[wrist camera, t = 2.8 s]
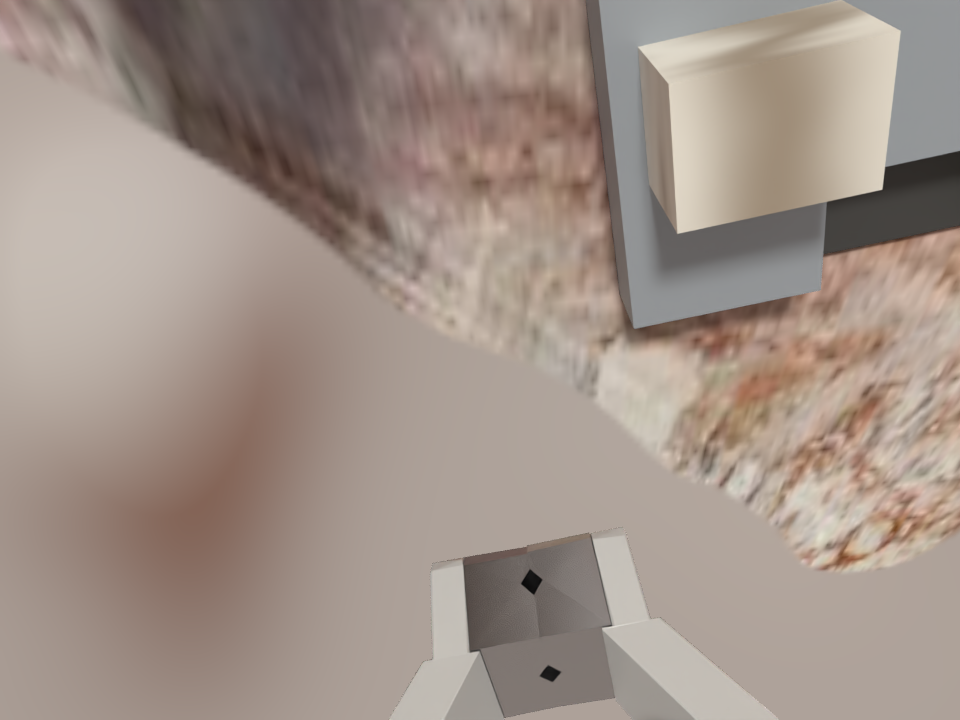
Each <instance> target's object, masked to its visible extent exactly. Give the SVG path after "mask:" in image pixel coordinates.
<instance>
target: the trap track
mask: <svg viewBox="0 0 960 720" xmlns="http://www.w3.org/2000/svg"><path fill="white" fill-rule="evenodd" d="M833 1H837V0H586V6H587V15H588V24H589V32H590V41H591V50H592V58H593V67H594V75H595V84H596V93H597V101H598V110H599V119H600V127H601V136H602V144H603V153H604V162H605V170H606V179H607V188H608V196H609V205H610V213H611V222H612V231H613V239H614V248H615V257H616V265H617V274H618V282H619V291H620V296H621V298H622V301H623V303H624V306H625V308H626V311H627V313H628V316H629V318H630V321H631V323H632V326H633V328H634V329H636V328H641V327H646V326H651V325H655V324H660V323H665V322H670V321H675V320H680V319H684V318H689V317H694V316H699V315H704V314H708V313H713V312H718V311H723V310H728V309H732V308H737V307H742V306H747V305H752V304H756V303H761V302H766V301H771V300H776V299H781V298H785V297H790V296H795V295H800V294H805V293H809V292H814V291H819V290H821V278H822V264H823V254H827V253H831V252H836V251H841V250H846V249H850V248H855V247H860V246H864V245H869V244H874V243H879V242H883V241H888V240H893V239H898V238H902V237H907V236H912V235H917V234H921V233H926V232H931V231H936V230H940V229H945V228H950V227H955V226H959V225H960V0H843V1H845V2H846V3H848V4H850V5H852V6H854V7H856V8H858V9H860V10H862V11H864V12H866V13H868V14H869V15H871V16H873V17H875V18H877V19H879V20H881V21H883V22H885V23H887V24H889V25H891V26H892V27H894V28H896V29H898V30H900V31H901V34H900V42H899V51H898V59H897V68H896V77H895V85H894V94H893V102H892V111H891V120H890V128H889V137H888V145H887V154H886V162H885V171H884V180H883V188H882V190H879V191H874V192H869V193H865V194H860V195H855V196H851V197H846V198H842V199H837V200H832V201H828V202H823V203H818V204H814V205H809V206H804V207H800V208H795V209H790V210H786V211H781V212H777V213H772V214H767V215H763V216H758V217H753V218H749V219H744V220H739V221H735V222H730V223H726V224H721V225H716V226H712V227H707V228H702V229H698V230H693V231H688V232H684V233H679V234H677V232H676V230H675V229H674V227H673V225H672V223H671V222H670V220H669V218H668V217H667V215H666V213H665V211H664V210H663V208H662V206H661V204H660V203H659V201H658V199H657V198H656V196H655V194H654V192H653V191H652V189H651V187H650V185H649V179H648V166H647V154H646V142H645V129H644V117H643V104H642V92H641V80H640V67H639V55H638V47H640V46H644V45H648V44H653V43H657V42H661V41H666V40H670V39H674V38H678V37H683V36H687V35H691V34H696V33H700V32H704V31H709V30H713V29H717V28H721V27H726V26H730V25H734V24H739V23H743V22H747V21H751V20H756V19H760V18H764V17H769V16H773V15H777V14H782V13H786V12H790V11H794V10H799V9H803V8H807V7H812V6H816V5H820V4H825V3H829V2H833Z"/></svg>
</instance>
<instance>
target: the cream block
mask: <svg viewBox="0 0 960 720" xmlns="http://www.w3.org/2000/svg"><path fill="white" fill-rule="evenodd" d="M900 34H901V31H900V30H898V29H896V28H894V27H892V26H891V25H889V24H887V23H885V22H883V21H881V20H879V19H877V18H875V17H873V16H871V15H869V14H868V13H866V12H864V11H862V10H860V9H858V8H856V7H854V6H852V5H850V4H848V3H846V2H845V1H843V0H837V1H833V2H829V3H825V4H820V5H816V6H812V7H807V8H803V9H799V10H794V11H790V12H786V13H782V14H777V15H773V16H769V17H764V18H760V19H756V20H751V21H747V22H743V23H739V24H734V25H730V26H726V27H721V28H717V29H713V30H709V31H704V32H700V33H696V34H691V35H687V36H683V37H678V38H674V39H670V40H666V41H661V42H657V43H653V44H648V45H644V46H640V47H638V55H639V67H640V80H641V92H642V104H643V117H644V129H645V142H646V154H647V166H648V179H649V185H650V187H651V189H652V191H653V192H654V194H655V196H656V198H657V199H658V201H659V203H660V204H661V206H662V208H663V210H664V211H665V213H666V215H667V217H668V218H669V220H670V222H671V223H672V225H673V227H674V229H675V230H676V232H677V234H679V233H684V232H688V231H693V230H698V229H702V228H707V227H712V226H716V225H721V224H726V223H730V222H735V221H739V220H744V219H749V218H753V217H758V216H763V215H767V214H772V213H777V212H781V211H786V210H790V209H795V208H800V207H804V206H809V205H814V204H818V203H823V202H828V201H832V200H837V199H842V198H846V197H851V196H855V195H860V194H865V193H869V192H874V191H879V190H882V188H883V180H884V171H885V162H886V154H887V145H888V137H889V128H890V120H891V111H892V102H893V94H894V85H895V77H896V68H897V59H898V51H899V42H900Z"/></svg>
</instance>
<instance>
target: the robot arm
mask: <svg viewBox="0 0 960 720" xmlns="http://www.w3.org/2000/svg"><path fill="white" fill-rule="evenodd" d="M430 584H431V585H430V587H431V625H432V626H431V628H432V659H431V660H427V661H423V662H422V664H421V665H420V667H419V669H418V671H417V672H416V674H415V676H414V677H413V679H412V681H411V682H410V684H409V686H408V687H407V689H406V691H405V693H404V694H403V696H402V698H401V699H400V701H399V703H398V704H397V706H396V708H395V710H394V711H393V713H392V715H391V716H390V718H389V720H505V719H504V718H506V717H511V716H516V715H520V714H525V713H530V712H535V711H540V710H544V709H550V708H554V707H559V706H566V705H572V704H579V703H586V702H592V701H598V700H605V699H612V698H615V699H616V702H617V703H618V704H619V705H620V706H621V707H622V708H623V709H624V711H625V712H626V713H627V714H628V715H629V716H630V717H631V719H632V720H779V719H778V718H777V717H776V716H775V715H774V714H772V713H771V712H770V711H769V710H768V709H767V708H765V707H764V706H763V705H762V704H761V703H760V702H758V701H757V700H756V699H755V698H754V697H753V696H752V695H750V694H749V693H748V692H747V691H746V690H744V689H743V688H742V687H741V686H740V685H738V684H737V683H736V682H735V681H734V680H733V679H732V678H731V677H729V676H728V675H727V674H726V673H725V672H724V671H722V670H721V669H720V668H719V667H718V666H717V665H715V664H714V663H713V662H712V661H711V660H710V659H708V658H707V657H706V656H705V655H704V654H703V653H701V652H700V651H699V650H698V649H697V648H695V646H693V645H692V644H691V643H690V642H689V641H688V640H686V639H685V638H684V637H683V636H682V635H681V634H679V633H678V632H677V631H676V630H675V629H674V628H672V627H671V626H670V625H669V624H668V623H666V622H665V621H664V620H663V619H662V618H661V617H660V618H653V619H651V618H650V614H649V611H648V607H647V604H646V600H645V597H644V594H643V590H642V586H641V583H640V579H639V576H638V573H637V569H636V566H635V562H634V559H633V555H632V552H631V548H630V545H629V542H628V538H627V534H626V532H625V530H624V529H623V527H619V528H615V529H609V530H604V531H599V532H594V533H591V534H589V533H585V534H580V535H575V536H571V537H566V538H561V539H557V540H552V541H547V542H542V543H537V544H533V545H527V547H523V548H517V549H512V550H505V551H500V552H494V553H488V554H482V555H475V556H470V557H464V558H458V559H453V560H447V561H442V562H436V563H432V567H431V572H430Z"/></svg>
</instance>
